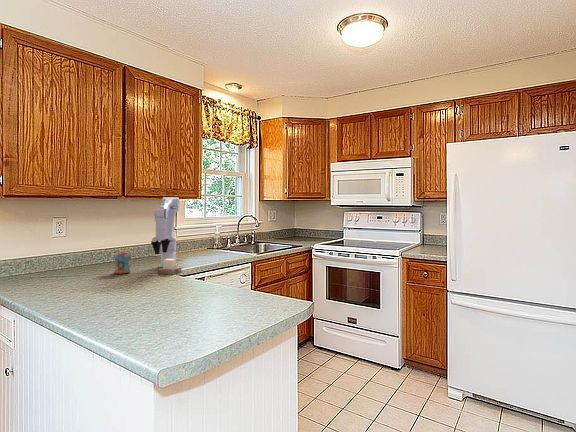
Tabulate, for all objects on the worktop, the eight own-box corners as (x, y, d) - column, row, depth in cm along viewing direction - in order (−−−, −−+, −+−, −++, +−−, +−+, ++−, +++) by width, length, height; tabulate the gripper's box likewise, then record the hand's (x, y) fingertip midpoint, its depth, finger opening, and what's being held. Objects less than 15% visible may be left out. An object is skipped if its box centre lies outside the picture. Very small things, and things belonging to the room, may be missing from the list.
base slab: (167, 270, 211) (167, 266, 210) (181, 271, 208) (181, 267, 208) (158, 273, 202) (158, 269, 202) (172, 274, 200) (172, 270, 200)
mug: (113, 275, 196) (113, 255, 195) (112, 272, 204) (112, 253, 203) (137, 273, 201) (137, 254, 201) (135, 270, 210) (135, 252, 209)
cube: (167, 267, 208) (167, 258, 208) (175, 267, 207) (175, 258, 207) (163, 268, 203) (163, 259, 203) (171, 269, 202) (171, 260, 202)
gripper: (161, 228, 216) (161, 251, 216) (147, 230, 202) (147, 254, 202) (172, 228, 214) (172, 251, 215) (158, 230, 200) (158, 255, 201)
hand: (160, 253), depth 208 cm, fingers open, 7 cm apart
